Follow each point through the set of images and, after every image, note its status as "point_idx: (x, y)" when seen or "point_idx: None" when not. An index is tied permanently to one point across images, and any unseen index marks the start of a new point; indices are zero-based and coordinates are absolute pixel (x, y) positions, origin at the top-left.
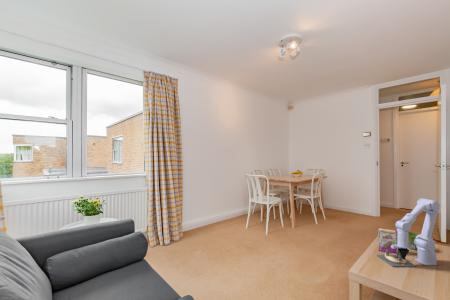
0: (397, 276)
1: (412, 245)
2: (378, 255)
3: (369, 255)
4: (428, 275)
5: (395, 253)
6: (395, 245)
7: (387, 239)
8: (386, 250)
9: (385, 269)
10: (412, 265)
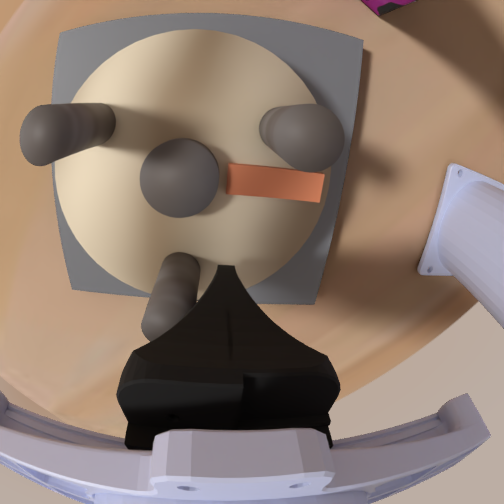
0: (62, 368)
1: (451, 463)
2: (57, 55)
3: (9, 47)
4: None
5: (372, 6)
6: (26, 474)
7: None
8: (24, 144)
9: (19, 300)
10: (284, 302)
